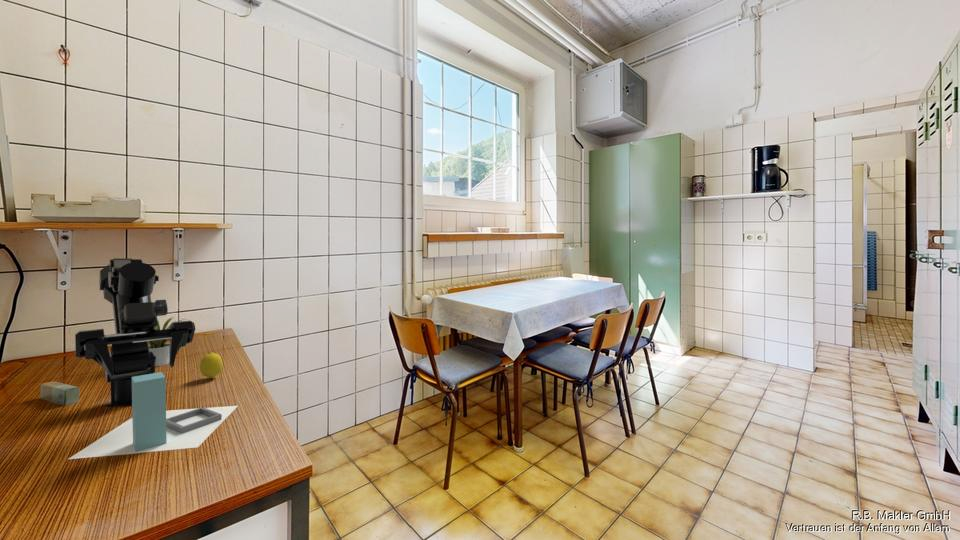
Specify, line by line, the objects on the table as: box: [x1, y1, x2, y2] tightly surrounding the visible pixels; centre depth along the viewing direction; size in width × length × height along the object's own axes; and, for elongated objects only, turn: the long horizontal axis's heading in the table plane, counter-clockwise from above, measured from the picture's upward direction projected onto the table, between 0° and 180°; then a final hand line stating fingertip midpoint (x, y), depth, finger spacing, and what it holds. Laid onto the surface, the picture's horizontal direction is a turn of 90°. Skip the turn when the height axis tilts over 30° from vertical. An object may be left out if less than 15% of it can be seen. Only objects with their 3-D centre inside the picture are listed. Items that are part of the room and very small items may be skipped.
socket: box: [166, 406, 222, 434], centre depth 81 cm, size 8×8×1 cm
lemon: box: [199, 351, 224, 379], centre depth 112 cm, size 6×6×8 cm
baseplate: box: [67, 405, 238, 460], centre depth 79 cm, size 20×20×1 cm
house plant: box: [147, 316, 186, 368], centre depth 126 cm, size 14×14×16 cm
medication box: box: [39, 381, 80, 407], centre depth 94 cm, size 12×3×4 cm, turn 70°
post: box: [131, 371, 167, 452], centre depth 72 cm, size 4×4×13 cm
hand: (143, 371), depth 77 cm, fingers open, 9 cm apart
